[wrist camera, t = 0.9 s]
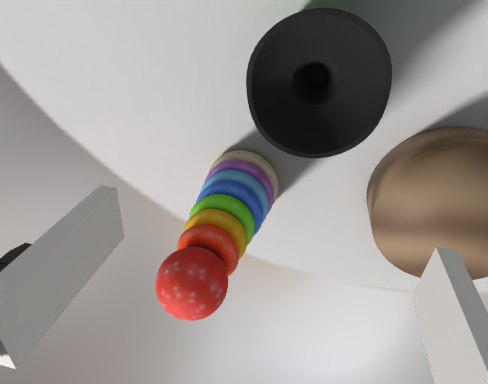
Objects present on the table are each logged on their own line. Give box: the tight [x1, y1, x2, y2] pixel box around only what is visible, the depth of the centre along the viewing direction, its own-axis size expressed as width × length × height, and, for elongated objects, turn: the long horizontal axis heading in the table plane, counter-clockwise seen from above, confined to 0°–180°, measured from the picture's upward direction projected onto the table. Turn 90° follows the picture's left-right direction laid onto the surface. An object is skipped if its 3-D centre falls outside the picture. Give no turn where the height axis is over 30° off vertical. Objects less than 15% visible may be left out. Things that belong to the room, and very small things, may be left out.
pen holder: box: [246, 8, 392, 158], centre depth 26 cm, size 9×9×10 cm
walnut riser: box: [367, 127, 488, 280], centre depth 31 cm, size 14×14×5 cm
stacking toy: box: [156, 150, 279, 321], centre depth 30 cm, size 8×8×19 cm
